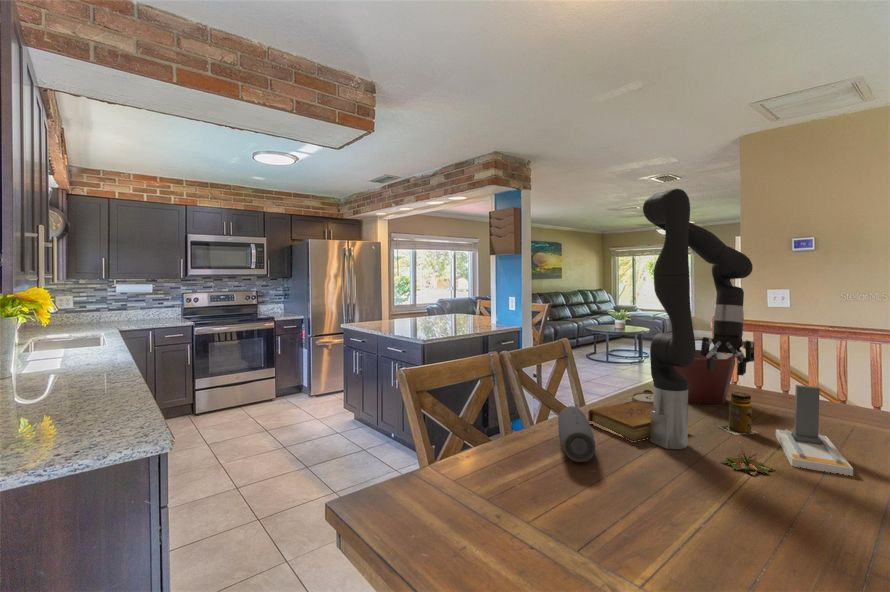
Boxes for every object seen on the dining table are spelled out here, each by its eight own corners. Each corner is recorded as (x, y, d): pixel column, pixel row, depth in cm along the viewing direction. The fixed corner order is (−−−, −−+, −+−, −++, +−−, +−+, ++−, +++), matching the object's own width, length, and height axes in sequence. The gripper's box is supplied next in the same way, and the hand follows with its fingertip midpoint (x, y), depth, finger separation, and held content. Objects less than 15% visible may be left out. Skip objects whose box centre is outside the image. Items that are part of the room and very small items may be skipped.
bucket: (736, 397, 173) (738, 337, 172) (740, 412, 155) (741, 345, 153) (669, 389, 186) (670, 333, 185) (664, 402, 168) (665, 340, 166)
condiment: (758, 433, 135) (759, 396, 134) (734, 435, 133) (735, 398, 133) (739, 425, 142) (740, 390, 141) (716, 427, 141) (717, 391, 140)
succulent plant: (739, 455, 120) (740, 440, 119) (787, 474, 109) (787, 456, 108) (710, 463, 115) (710, 446, 115) (755, 483, 104) (756, 464, 104)
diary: (635, 415, 156) (635, 399, 155) (683, 431, 139) (683, 414, 138) (588, 424, 146) (588, 408, 145) (633, 444, 129) (633, 425, 129)
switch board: (775, 435, 133) (775, 426, 132) (826, 442, 127) (826, 432, 126) (791, 466, 112) (792, 455, 112) (852, 476, 106) (853, 464, 106)
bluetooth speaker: (597, 468, 112) (598, 431, 112) (561, 465, 114) (561, 429, 114) (586, 436, 135) (587, 405, 134) (556, 434, 136) (556, 403, 136)
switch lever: (791, 435, 127) (792, 383, 126) (817, 439, 124) (819, 386, 123) (794, 440, 123) (795, 387, 122) (821, 443, 120) (822, 389, 119)
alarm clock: (624, 397, 167) (646, 384, 175) (626, 408, 167) (647, 395, 175) (652, 404, 157) (673, 390, 165) (653, 416, 158) (674, 402, 166)
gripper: (698, 318, 135) (695, 369, 134) (747, 320, 123) (744, 376, 122) (711, 320, 139) (708, 369, 138) (760, 322, 126) (757, 377, 125)
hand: (725, 372), depth 130 cm, fingers open, 8 cm apart
